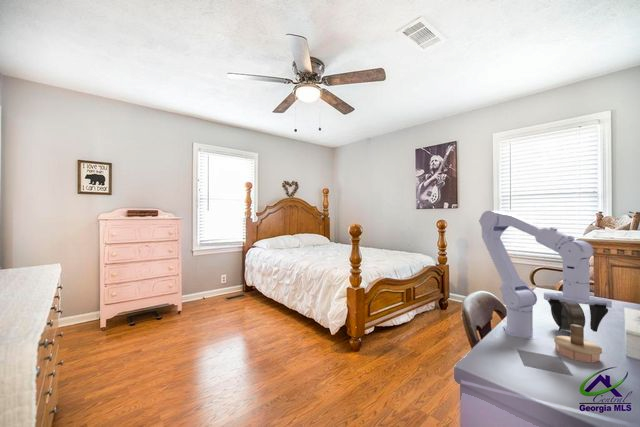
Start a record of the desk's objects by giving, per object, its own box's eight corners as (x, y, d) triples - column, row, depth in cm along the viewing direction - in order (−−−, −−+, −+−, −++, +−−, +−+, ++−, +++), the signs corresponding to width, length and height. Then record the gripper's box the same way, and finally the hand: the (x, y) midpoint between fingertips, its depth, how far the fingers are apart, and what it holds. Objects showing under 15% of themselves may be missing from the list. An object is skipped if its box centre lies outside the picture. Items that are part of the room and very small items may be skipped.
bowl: (552, 346, 85) (552, 336, 85) (590, 352, 80) (590, 342, 80) (562, 359, 77) (562, 348, 77) (604, 367, 73) (604, 355, 73)
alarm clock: (587, 339, 89) (586, 290, 89) (568, 338, 90) (567, 289, 90) (564, 326, 100) (563, 282, 100) (547, 325, 101) (547, 282, 101)
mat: (517, 351, 81) (517, 349, 81) (560, 359, 76) (560, 357, 76) (524, 367, 72) (524, 365, 72) (573, 378, 68) (573, 375, 68)
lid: (551, 335, 85) (551, 317, 85) (596, 344, 80) (596, 324, 80) (557, 348, 77) (557, 327, 77) (607, 358, 71) (606, 336, 71)
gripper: (548, 281, 79) (548, 327, 79) (617, 287, 72) (617, 338, 72) (541, 276, 85) (541, 319, 85) (604, 282, 78) (605, 328, 78)
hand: (576, 327), depth 79 cm, fingers open, 7 cm apart
